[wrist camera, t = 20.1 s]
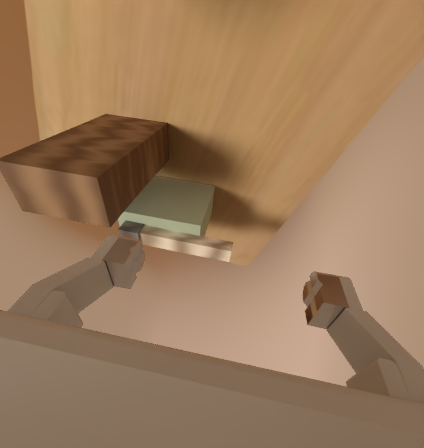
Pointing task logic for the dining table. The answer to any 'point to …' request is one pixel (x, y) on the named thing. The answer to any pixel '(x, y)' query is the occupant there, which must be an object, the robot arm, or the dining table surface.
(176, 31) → the dining table surface
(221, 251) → the baton
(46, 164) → the brown wooden block
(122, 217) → the box
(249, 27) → the dining table surface
